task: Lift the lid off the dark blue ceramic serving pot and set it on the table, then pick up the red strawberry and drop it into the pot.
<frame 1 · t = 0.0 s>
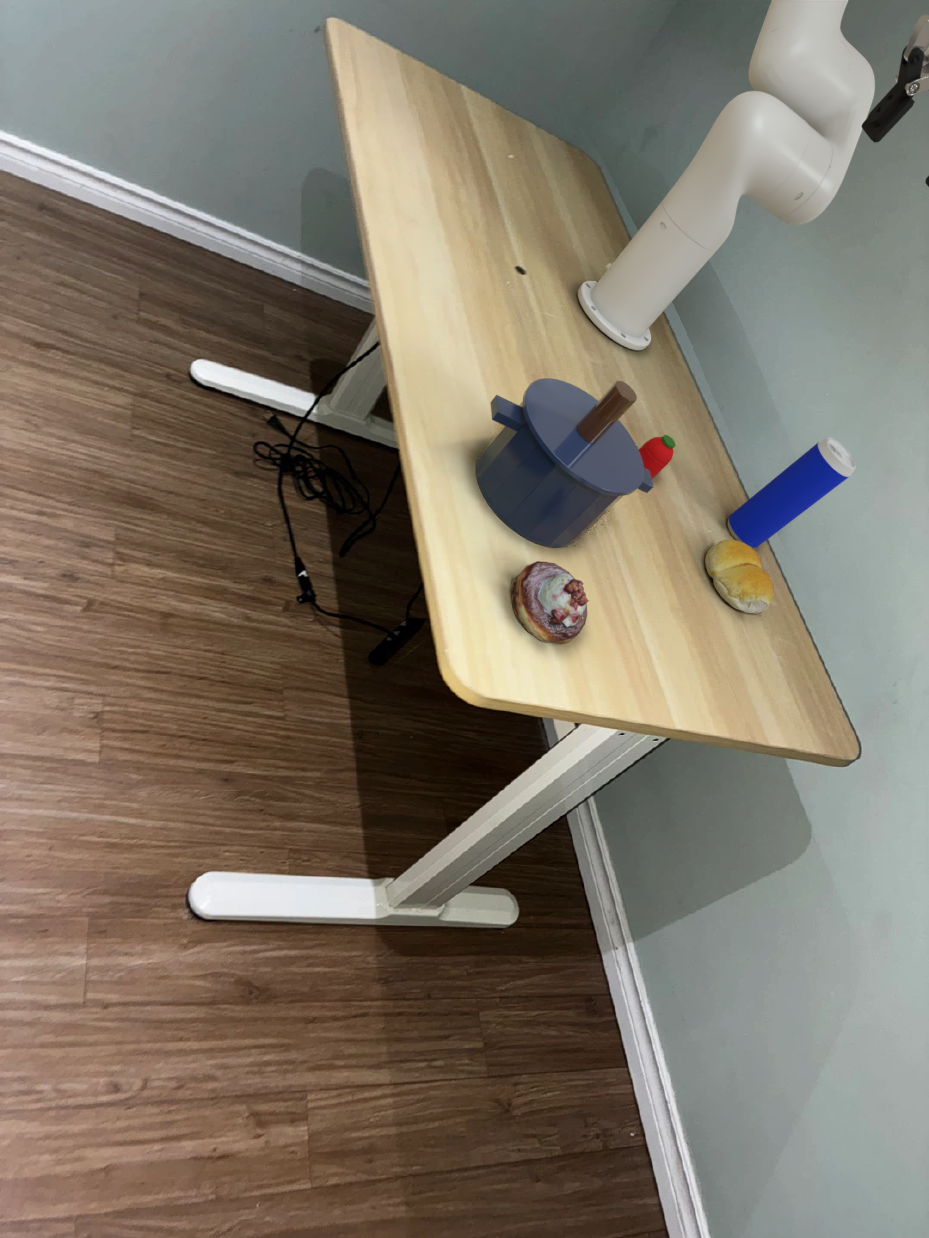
hand: (900, 163, 77), 37 cm above the table, tool pointing down, fingers open, 9 cm apart
lid: (583, 437, 74), point 8 cm above the table, touching pot
pot: (529, 495, 80), on the table
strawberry: (643, 466, 96), on the table
beverage can: (739, 534, 101), on the table
bread roll: (729, 584, 93), on the table
pastry: (542, 609, 72), on the table
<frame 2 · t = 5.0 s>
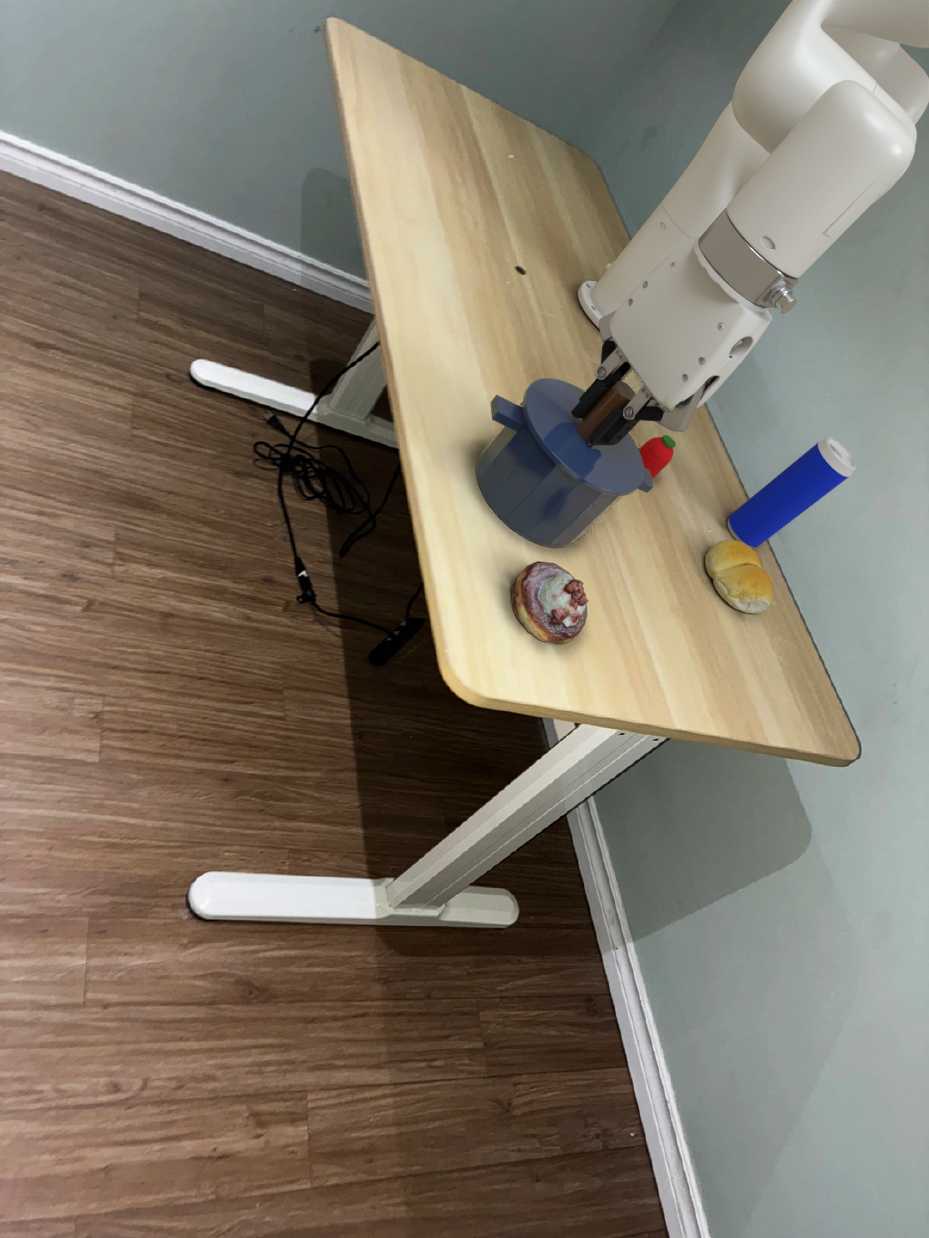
hand: (592, 428, 74), 10 cm above the table, tool pointing down, fingers closed on lid, 2 cm apart
lid: (583, 437, 74), point 9 cm above the table, touching gripper, pot
everything else where it was.
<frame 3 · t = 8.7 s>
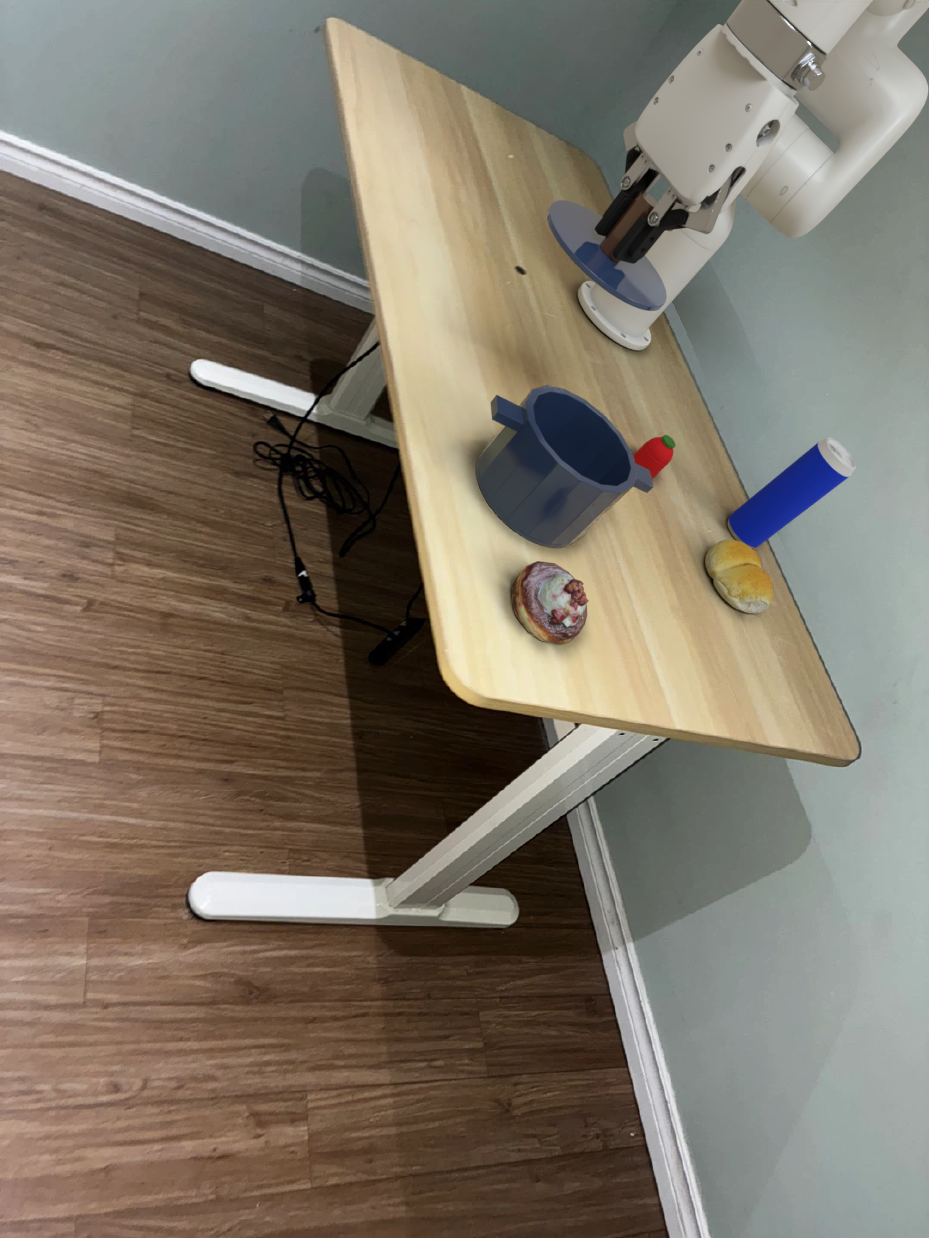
hand: (615, 245, 74), 19 cm above the table, tool pointing down, fingers closed on lid, 2 cm apart
lid: (606, 257, 75), point 18 cm above the table, touching gripper
everything else where it was.
when the fingers open (2 cm above the table, at t = 12.7 s): lid stays where it is, point 1 cm above the table.
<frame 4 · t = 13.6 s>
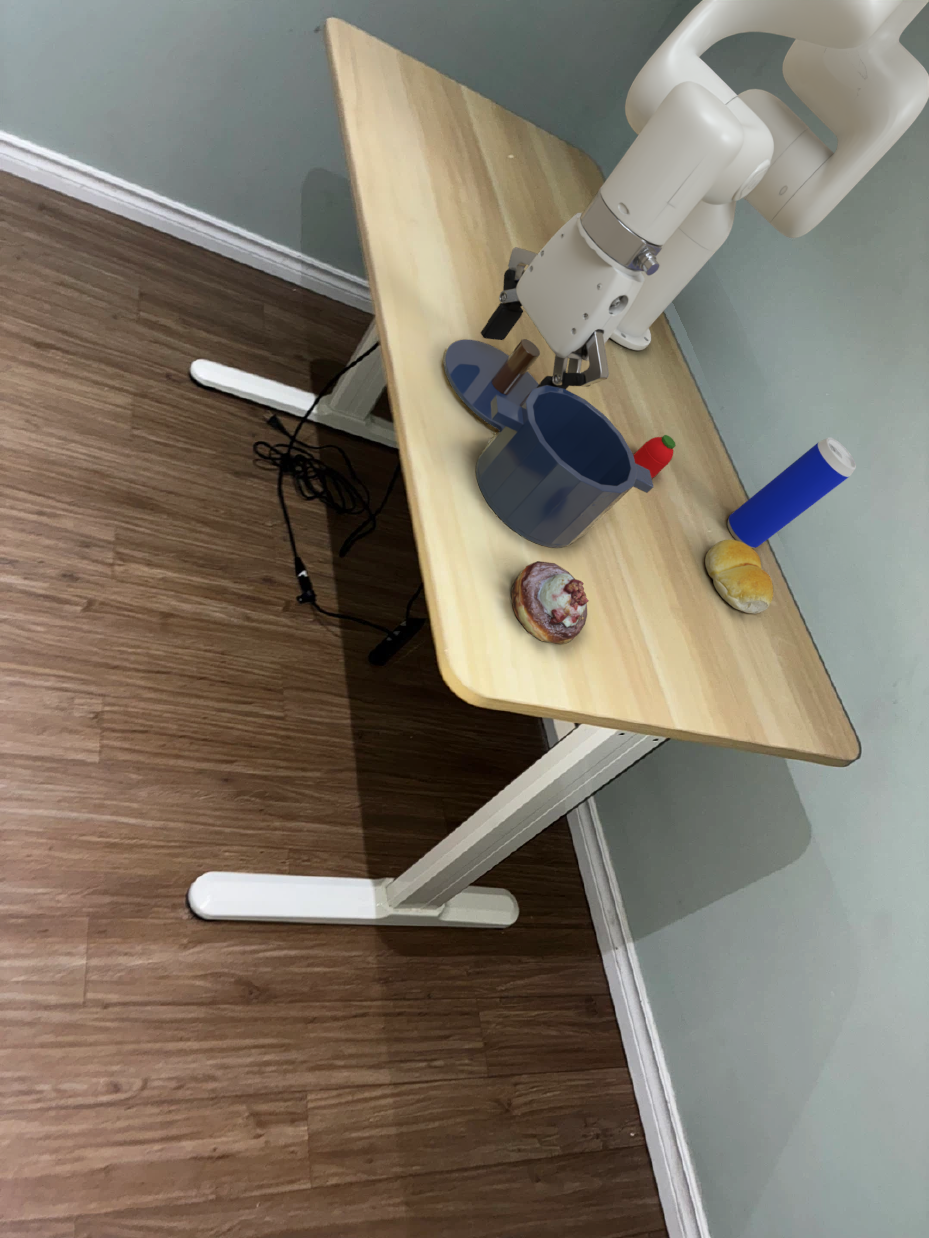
hand: (512, 371, 85), 3 cm above the table, tool pointing down, fingers open, 9 cm apart
lid: (498, 389, 87), point 1 cm above the table
everything else where it was.
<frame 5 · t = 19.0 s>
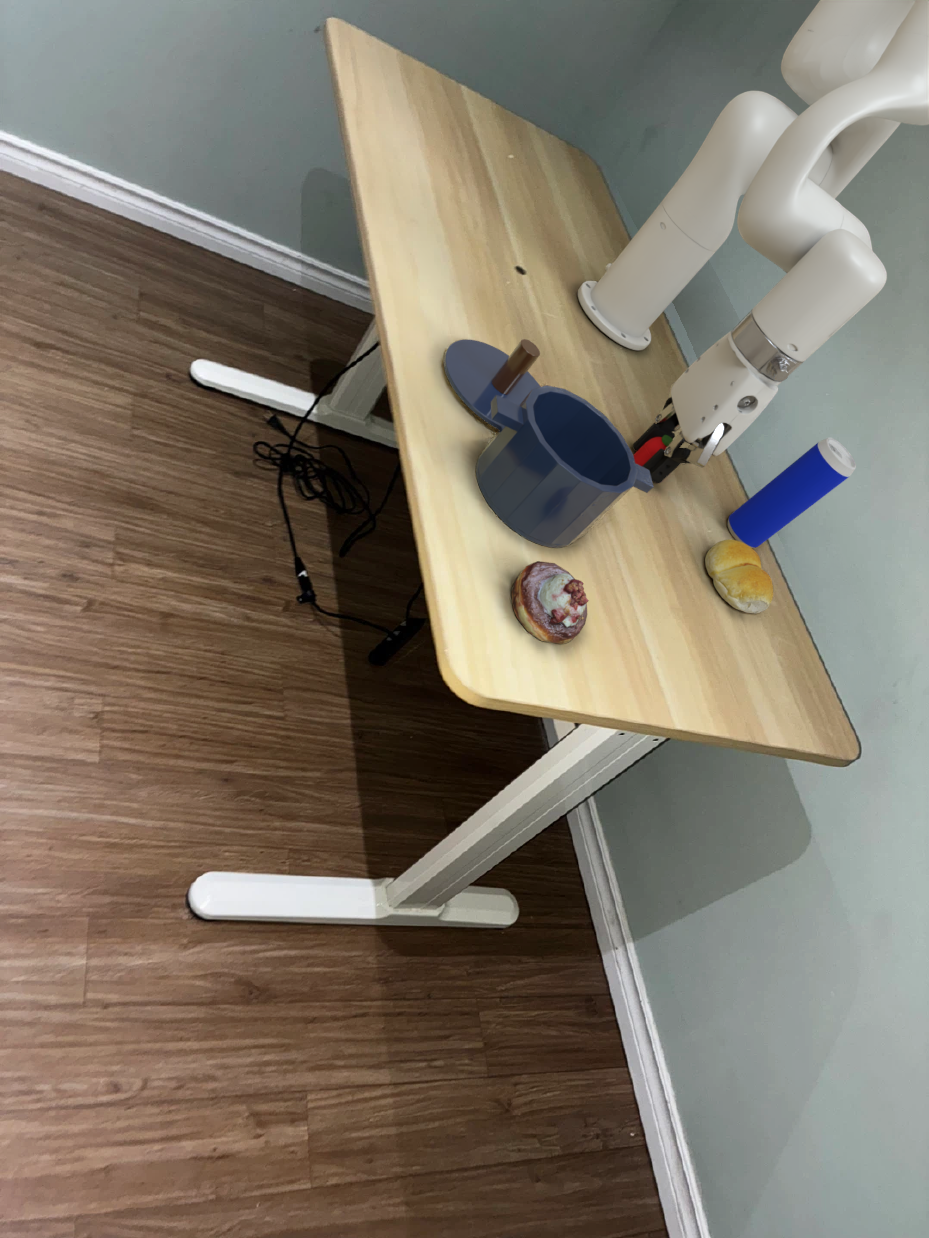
hand: (646, 463, 96), 0 cm above the table, tool pointing down, fingers closed on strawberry, 3 cm apart
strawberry: (643, 466, 96), on the table, touching gripper
everything else where it was.
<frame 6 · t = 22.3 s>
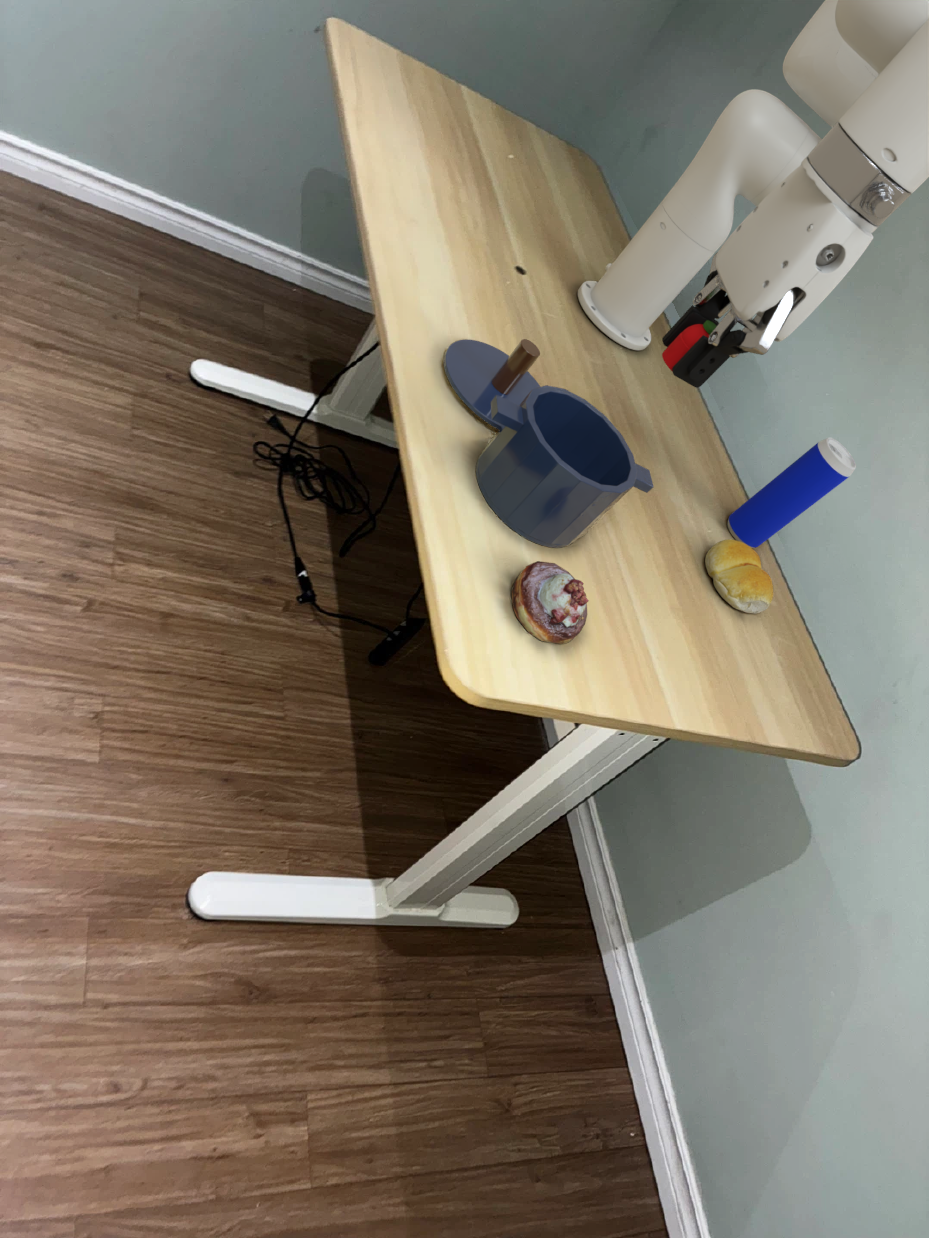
hand: (680, 362, 72), 18 cm above the table, tool pointing down, fingers closed on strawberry, 3 cm apart
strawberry: (677, 366, 72), point 17 cm above the table, touching gripper
everything else where it was.
when the fingers open (7 cm above the table, at t = 25.7 s): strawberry drops 6 cm, resting on pot.
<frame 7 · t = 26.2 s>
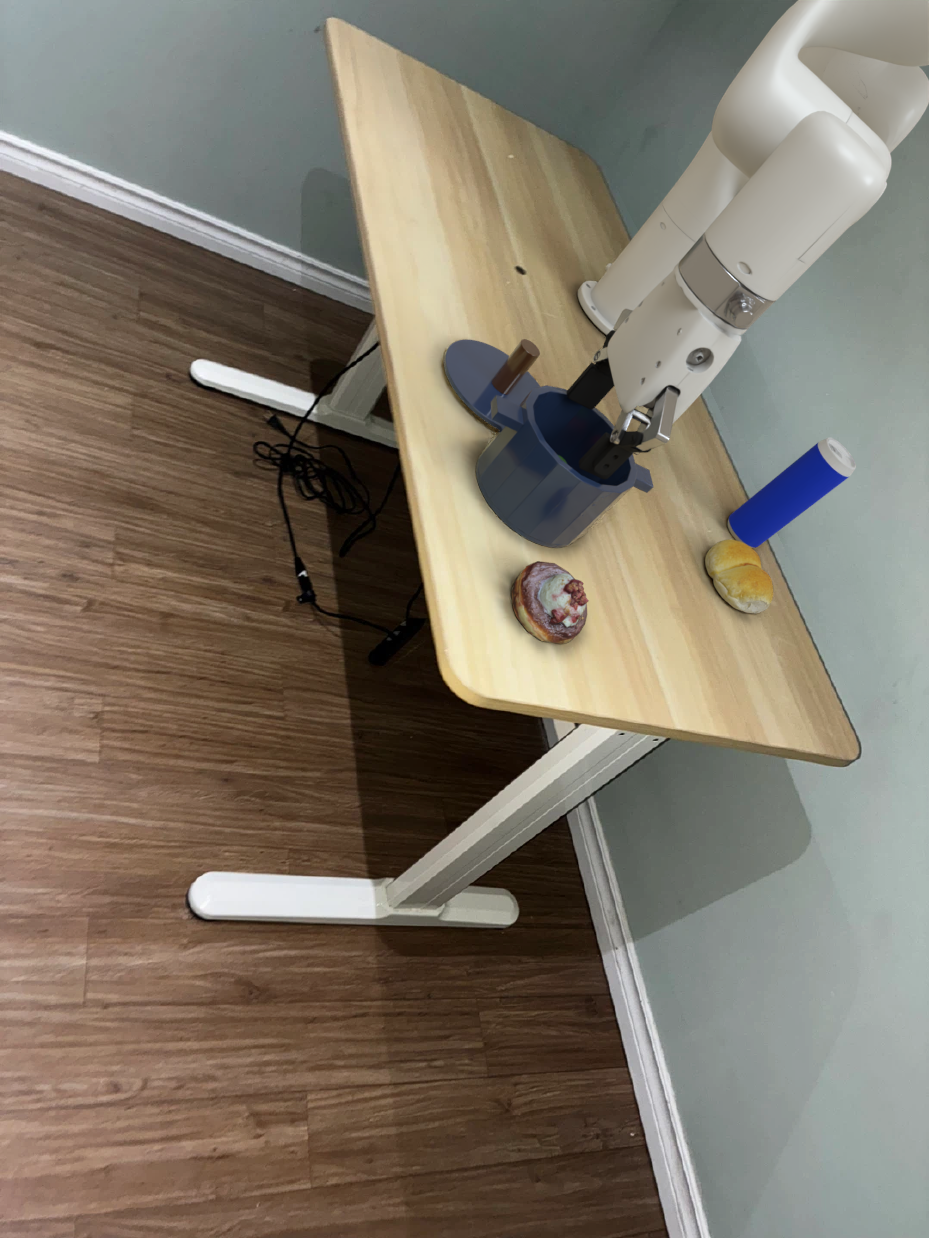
hand: (584, 435, 74), 9 cm above the table, tool pointing down, fingers open, 9 cm apart
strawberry: (532, 491, 80), resting on pot
everything else where it was.
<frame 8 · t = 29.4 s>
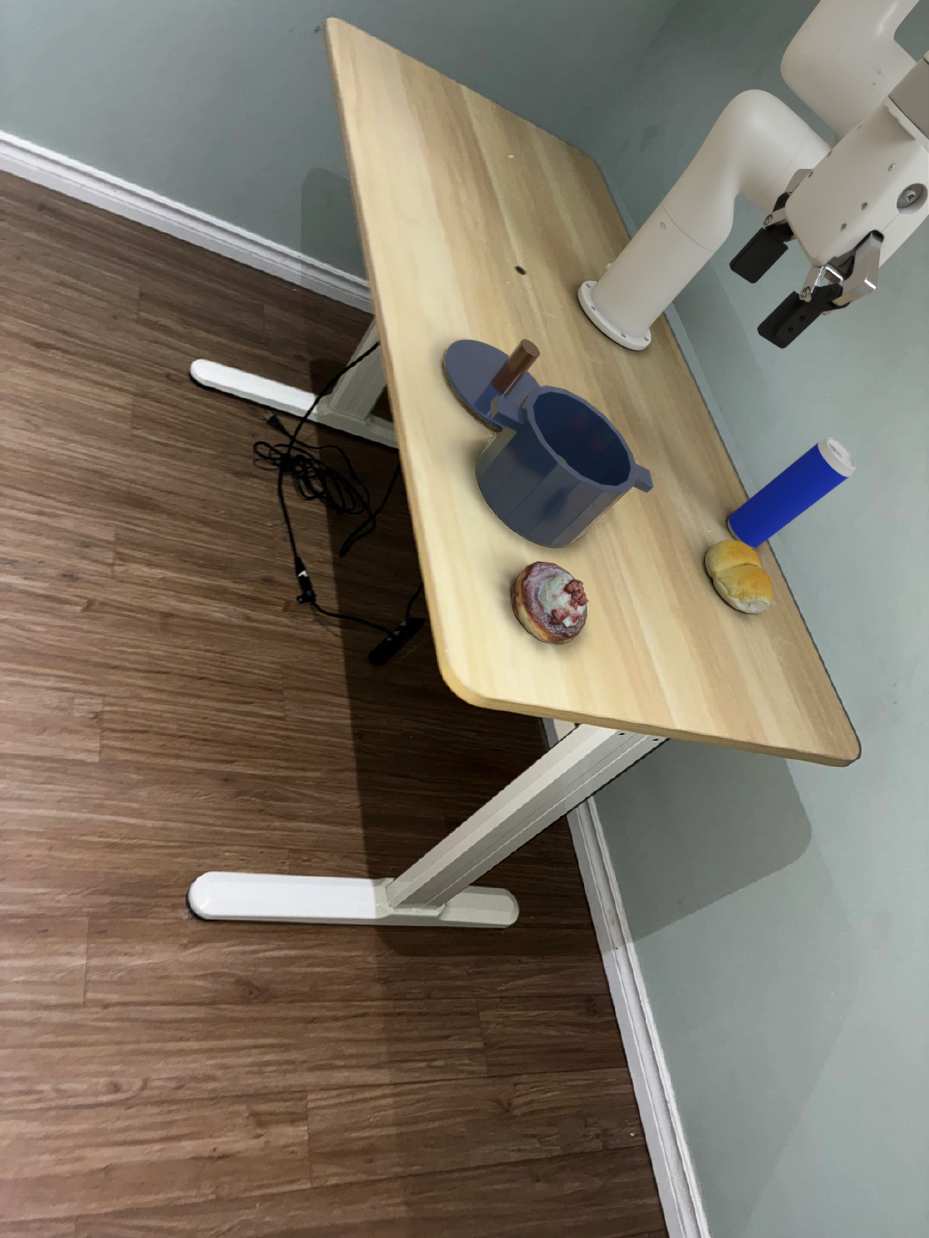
hand: (754, 306, 70), 24 cm above the table, tool pointing down, fingers open, 9 cm apart
nothing on the table moved.
at the end: lid inside the target area (0.1 cm from its centre), point 0.6 cm above the table; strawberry inside the target area in the pot (0.1 cm from its centre), point 0.5 cm above the pot's base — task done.
